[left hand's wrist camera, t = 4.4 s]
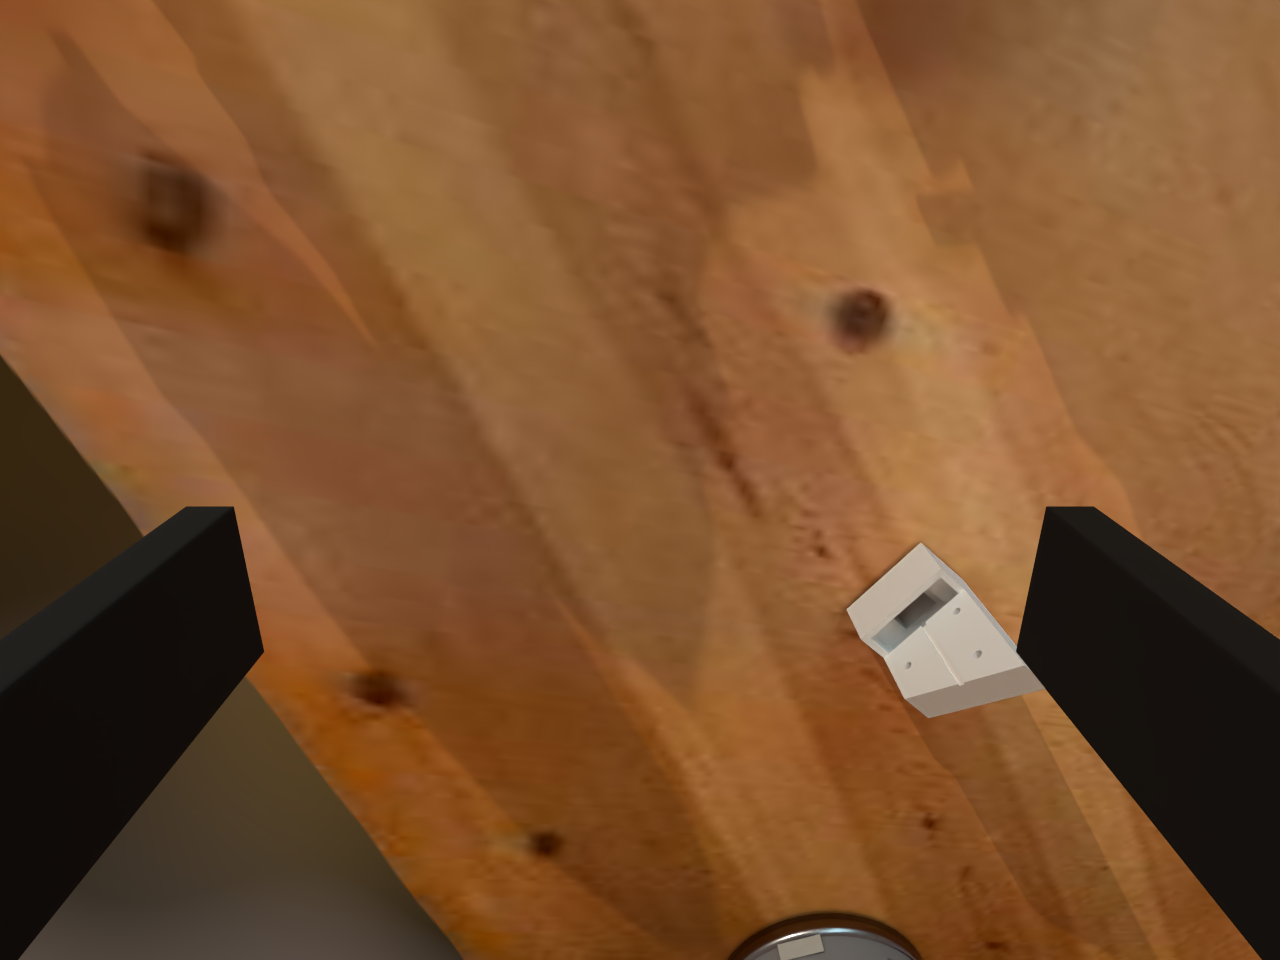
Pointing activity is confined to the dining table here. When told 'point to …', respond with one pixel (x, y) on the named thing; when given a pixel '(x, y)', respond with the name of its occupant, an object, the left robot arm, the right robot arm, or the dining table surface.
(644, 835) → the dining table surface
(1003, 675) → the white angled block
